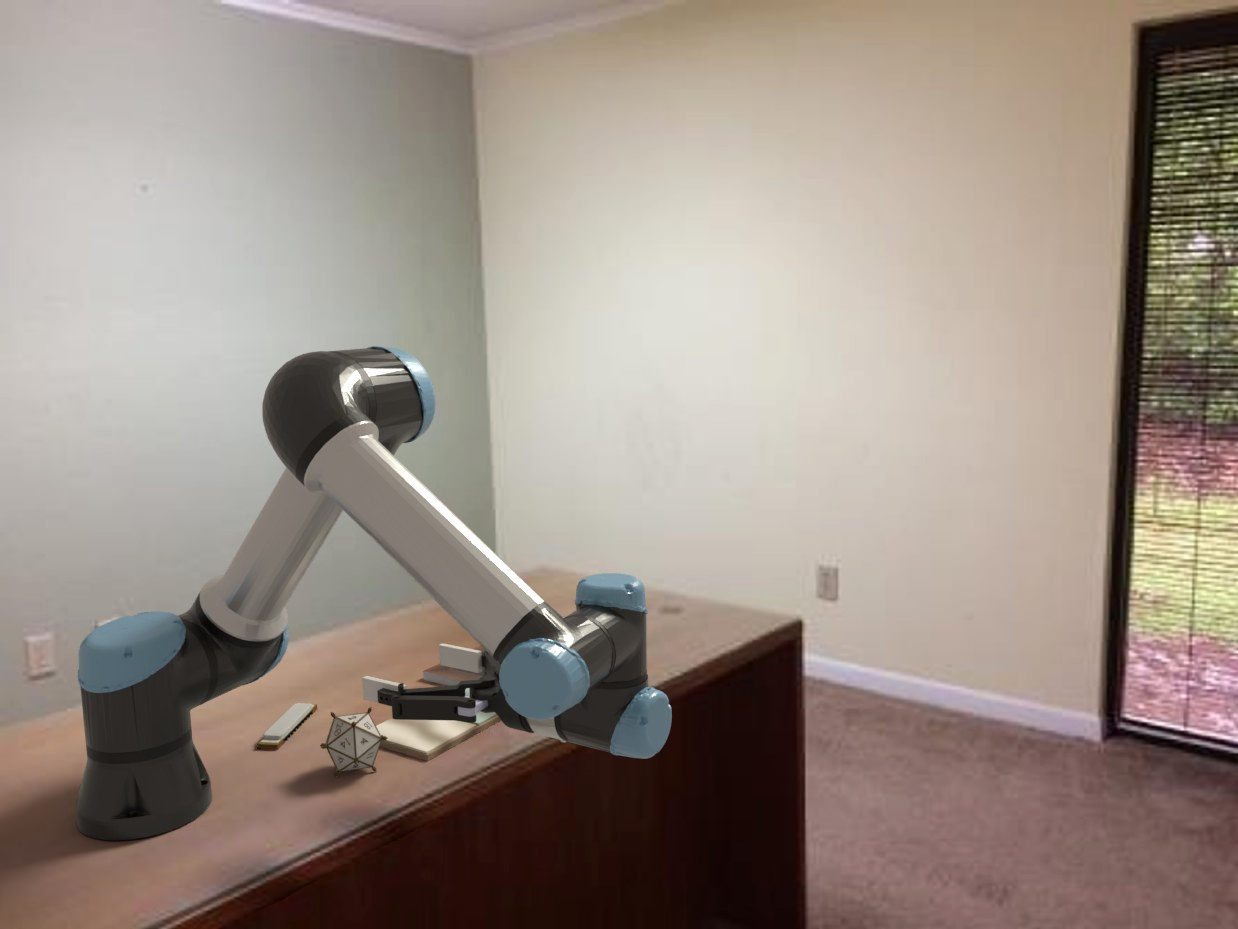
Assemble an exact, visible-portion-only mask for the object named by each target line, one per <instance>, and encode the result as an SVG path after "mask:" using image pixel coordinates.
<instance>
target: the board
mask: <svg viewBox="0 0 1238 929" xmlns="http://www.w3.org/2000/svg"><path fill="white" fill-rule="evenodd" d="M465 696H469V698H470V692H469V688H467V689H466V690H465ZM499 722H502V721H501V719H500V718H499V716H498V715H497V714H496V713H495V712H490V713H484V712H481V711H480V712H478V713H477V714H476V722H473V723H467V722H461V721H454V720H396V719H393V718H392V717H391V718H389V719H387V720H385V721H384V722H381V723H379V724H376V727H377V729H378V731H379V733H380V735H383V736H386V737H387V739H386V740H384V741H383V740H382V741H381V744H380V747H379V748H383V749H386V750H389V751H394V752H396V753H400V754H404V755H407V756H410V757H413V758H417V759H420V760H424V761H427V762H428V761H431V760H432V759H434V758H436V757H438V756H440V755H441V754H443V753H445V752H447V751H448V750H450V749H453V748H454V747H456V746H458V745H459V744H461V743H463V742H465V741H466V740H468V739H470V738H471V737H474V736H475V735H477V734H479V733H480V732H482V731H484V730H486V729H488V728H489V727H491V726H494V725H496V724H497V723H499Z"/></svg>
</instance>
